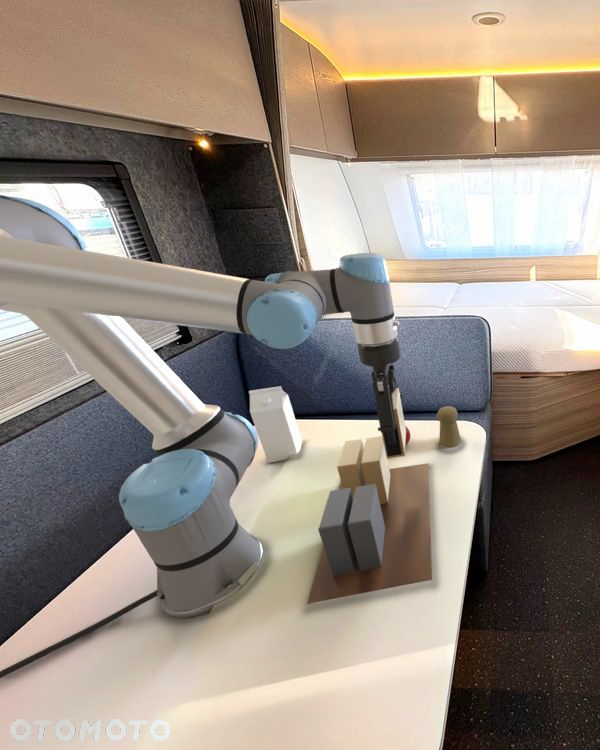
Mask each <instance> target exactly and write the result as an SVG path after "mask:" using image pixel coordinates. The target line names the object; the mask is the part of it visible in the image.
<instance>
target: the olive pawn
mask: <svg viewBox="0 0 600 750" xmlns="http://www.w3.org/2000/svg"><path fill="white" fill-rule="evenodd" d="M436 417H437V420H438V422H439V442H438V443H439V445H440V446H441V447H442V448H445V449H452V448H456V447H458V446H459V445H460V444H461V443H462V438H461V434H460V430H459V427H458V422H457V420H458V417H459V413H458V410H457V409H456V408H455V407H454V406H450V405H449V406H443V407H441V408H440V409H438V411H437V413H436Z"/></svg>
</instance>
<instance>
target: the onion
mask: <svg viewBox="0 0 600 750" xmlns="http://www.w3.org/2000/svg"><path fill="white" fill-rule="evenodd" d="M405 428H406V442H405V447H406V446H407V445H408V444H409V442H410V441H411V436H412V435H411V432H410V429H409V428H408V427H407V426H406V425H405Z"/></svg>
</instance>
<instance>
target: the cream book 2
mask: <svg viewBox="0 0 600 750" xmlns="http://www.w3.org/2000/svg"><path fill="white" fill-rule="evenodd" d="M361 467H362V471H363V475H364V480H365V484H366V485H372V484H376V488H377V493H378V497H379V502H380V504H384V503H388V495H389V485H390V470H389V469H390V466H389V461H388V459H387V457H386V452H385V447H384V442H383V437H382V435H381V436H373V437H372V436H371V437H367V438H366V439H365V444H364V452H363V457H362V462H361Z"/></svg>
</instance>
